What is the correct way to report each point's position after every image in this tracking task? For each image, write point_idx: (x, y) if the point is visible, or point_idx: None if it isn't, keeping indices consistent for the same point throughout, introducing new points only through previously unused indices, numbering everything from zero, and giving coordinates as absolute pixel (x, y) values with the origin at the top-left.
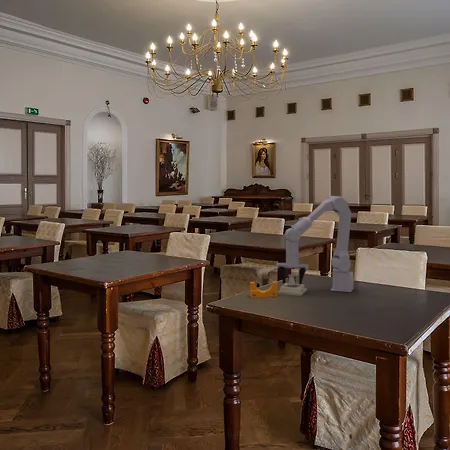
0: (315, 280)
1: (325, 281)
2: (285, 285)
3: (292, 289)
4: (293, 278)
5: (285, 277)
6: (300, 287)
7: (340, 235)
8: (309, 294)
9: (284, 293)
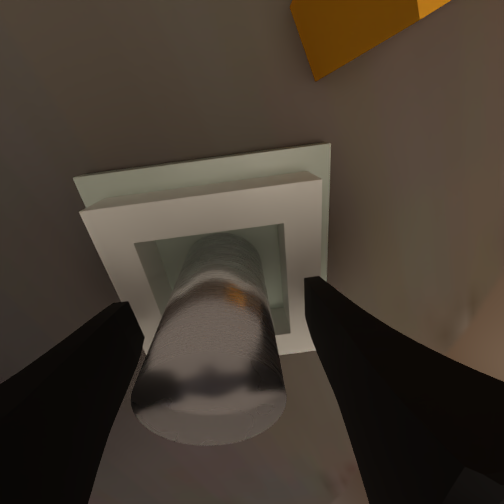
0: (230, 490)
1: (181, 493)
2: (291, 278)
3: (171, 194)
4: (164, 330)
5: (326, 369)
6: (107, 264)
7: None
8: (64, 254)
9: (253, 152)
